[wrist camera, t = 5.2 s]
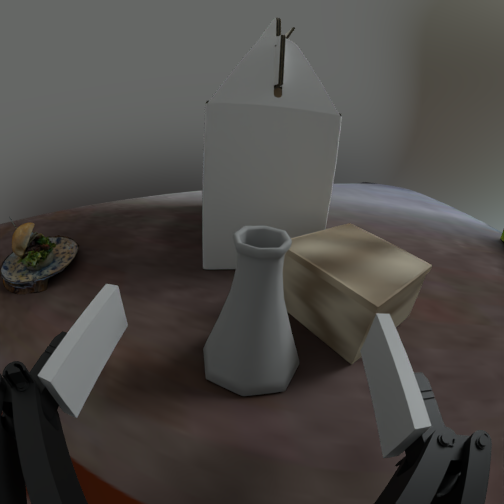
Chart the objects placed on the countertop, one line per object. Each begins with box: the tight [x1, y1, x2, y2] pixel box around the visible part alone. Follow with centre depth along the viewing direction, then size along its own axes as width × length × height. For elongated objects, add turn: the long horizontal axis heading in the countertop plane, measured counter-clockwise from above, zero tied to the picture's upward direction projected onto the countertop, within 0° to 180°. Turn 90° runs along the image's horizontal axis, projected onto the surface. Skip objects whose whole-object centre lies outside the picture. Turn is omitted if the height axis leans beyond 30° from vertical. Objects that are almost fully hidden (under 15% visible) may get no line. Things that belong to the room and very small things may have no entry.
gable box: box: [202, 18, 342, 270], centre depth 34 cm, size 22×13×28 cm, turn 8°
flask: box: [203, 226, 299, 396], centre depth 18 cm, size 7×7×10 cm
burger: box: [0, 222, 79, 294], centre depth 26 cm, size 12×12×8 cm
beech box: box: [282, 223, 432, 365], centre depth 24 cm, size 10×10×6 cm
